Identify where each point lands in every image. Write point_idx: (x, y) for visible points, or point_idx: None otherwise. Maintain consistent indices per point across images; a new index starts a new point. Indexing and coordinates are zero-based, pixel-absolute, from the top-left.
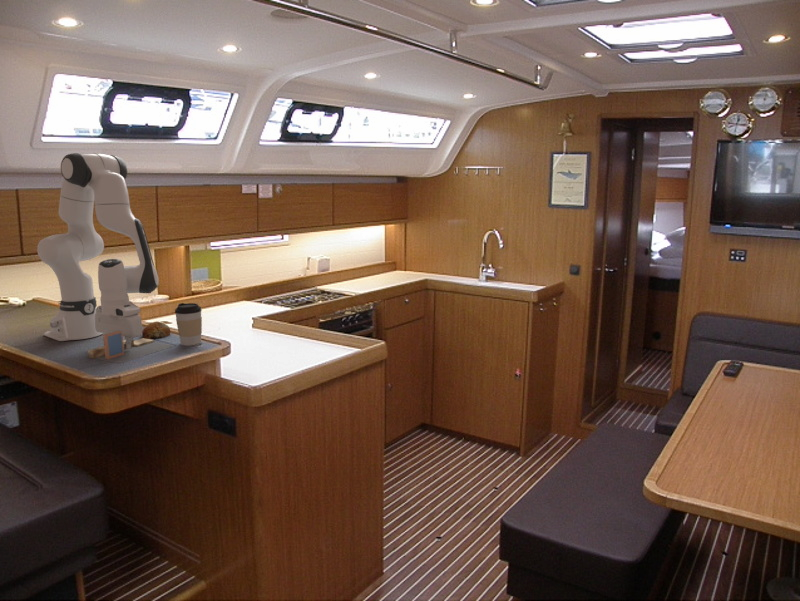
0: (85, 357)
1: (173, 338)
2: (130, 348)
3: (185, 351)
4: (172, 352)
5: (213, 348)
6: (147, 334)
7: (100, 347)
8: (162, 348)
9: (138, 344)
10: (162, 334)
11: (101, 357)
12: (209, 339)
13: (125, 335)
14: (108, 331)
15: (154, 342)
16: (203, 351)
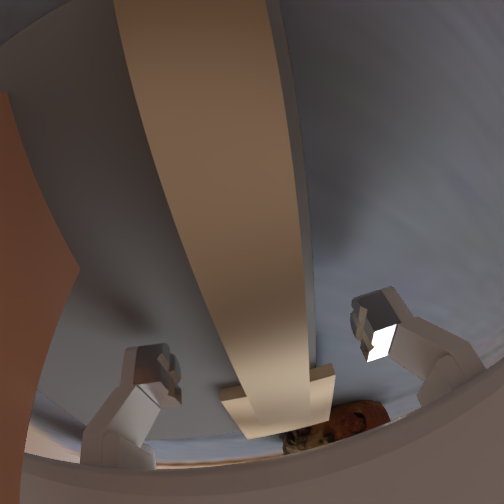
0: (382, 12)
1: (266, 446)
2: (212, 361)
3: (49, 419)
4: (52, 405)
5: (53, 442)
6: (329, 439)
7: (248, 120)
8: (85, 416)
9: (223, 404)
10: (289, 453)
11: (79, 58)
12: (160, 466)
13: (60, 474)
14: (426, 445)
15: (231, 430)
16: (31, 427)
